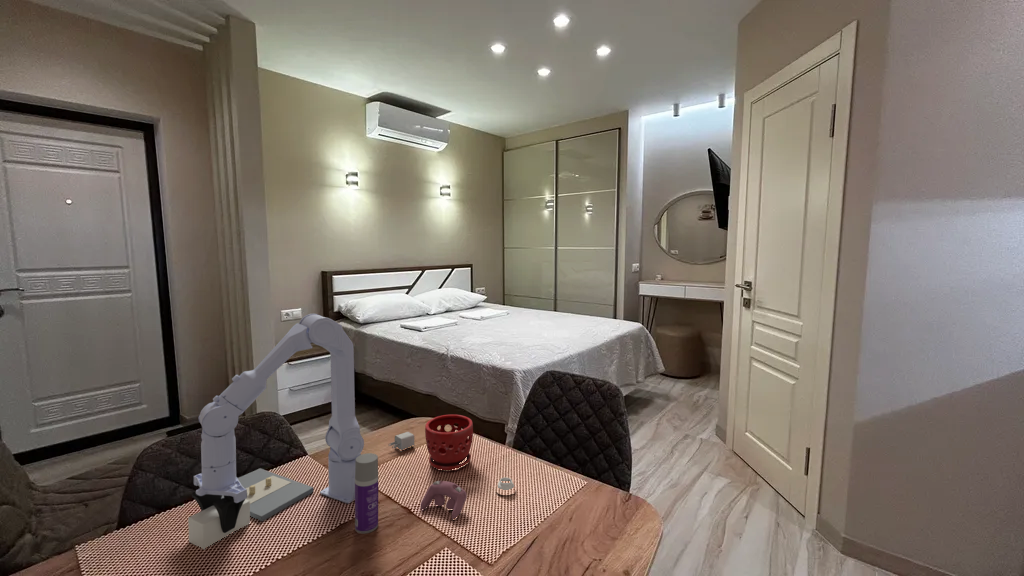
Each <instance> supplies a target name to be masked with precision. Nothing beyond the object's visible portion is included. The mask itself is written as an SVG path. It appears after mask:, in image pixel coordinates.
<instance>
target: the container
mask: <svg viewBox="0 0 1024 576" xmlns="http://www.w3.org/2000/svg"><path fill="white" fill-rule="evenodd" d="M378 526H379V456H378V455H377V453H376V454H375V453H372V452H368V453H362V454H361V455H360V456H358V457H357V458H356V463H355V500H354V531H355V532H357V534H370V533H372V532H374V531H375V530H376V529H378Z"/></svg>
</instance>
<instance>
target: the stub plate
mask: <svg viewBox="0 0 1024 576" xmlns="http://www.w3.org/2000/svg"><path fill="white" fill-rule="evenodd" d="M237 478H238V480H239V481H240V483H241V485H242V486H243V487H244V488H245V489H247V498H246V500H249V501H250V516H251V517H250V518H252V517H253V518H252V519H254V518H255V519H254V520H256V519H258V520H257V521H259V520H260V521H259V522H261V521H262V522H263V521H265V520H267V519H269V518H270V517H272V516H274V515H276V514H277V513H280V512H282V511H283V510H284V509H286V508H289V507H290V506H291V505H293V504H295V503H297V502H298V501H301V500H303V498H306V497H307V496H309V495H311V494H312V492H313V493H314V487H313V486H310V485H309V484H306V483H302V482H300V481H298V480H294V479H291V478H288V477H286V476H284V475H283V476H282V475H280V474H277V473H274V472H272V471H269V470H265V469H264V468H261V467H260V468H258V469H255V470H254V471H251V472H249V473H246V474H244V475H241V476H239V477H237ZM222 498H224V495H222ZM222 498H221V499H222Z"/></svg>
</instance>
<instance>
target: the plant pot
mask: <svg viewBox="0 0 1024 576" xmlns="http://www.w3.org/2000/svg"><path fill="white" fill-rule="evenodd" d="M455 424H457V427H456V426H455ZM448 425H449V426H450V427H451V429H450V430H449V431H447V430H446V429H445V428H446V426H448ZM439 426H440V429H439ZM424 427H425V428H424V432H425V433H424V434H425V442H426V443H425V444H426V449H427V451H428V454H429V457H428V462H429V464H430V466H431V465H432V466H433V467H432V468H434V467H435V468H437V469H442V470H452V469H455V468H459V467H461V466H463V465H465V464H466V463H468V462H469V463H470V461H471V453H470V451H471V448H472V445H473V437H474V425H473V420H472V419H471V418H470V417H468V416H465V415H461V414H443V415H438V416H435V417H433V418H431V419H429V420H428V421H427V422H426V423H425V425H424ZM466 457H467V460H466V461H465V462H464V463H462V464H459V463H460V462H462V461H463V460H464V459H465V458H466ZM433 460H434V461H433ZM469 463H468V464H469ZM435 468H434V469H435ZM437 469H436V470H437Z"/></svg>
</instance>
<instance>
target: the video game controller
mask: <svg viewBox="0 0 1024 576" xmlns="http://www.w3.org/2000/svg"><path fill="white" fill-rule="evenodd" d="M445 497H448V498H449V499H448V500H447V501H446V498H445ZM467 497H468V495H467V492H466V490H465V489H463V488H462V487H461V486H460V485H458V484H457V483H454V482H452V481H448V480H437V481H434V482H433V483H431V484H430V485H429V487H428V488H427V490H426V492H425V494H424V496H423V498H422V500H421V502H420V510H421V511H422V509H425V508H426V507H427V506H428V507H429V506H430V505H431V503H432V502H433V501H434V506H435V505H438V506H442V505H444V504H445V505H444V506H445V508H446V509H447V508H448V509H453V511H451V520H452V519H454V518H456V517H457V516H458V515H459V514H460V515H461V513H462V511H463V508H464V505H465V502H466V501H467ZM428 507H427V508H428ZM427 508H426V509H427ZM426 509H425V510H426ZM460 515H459V516H460Z"/></svg>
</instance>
